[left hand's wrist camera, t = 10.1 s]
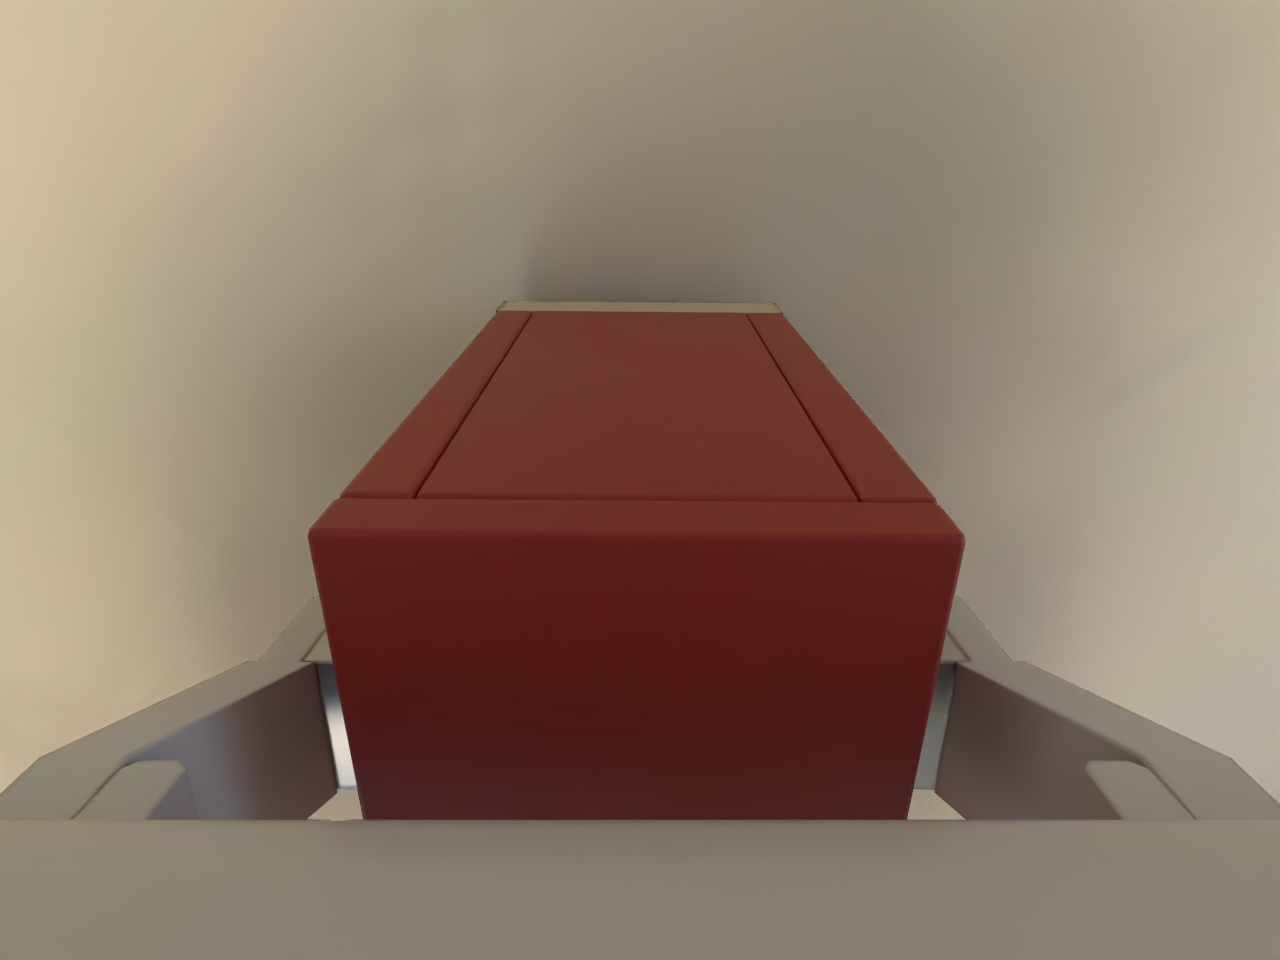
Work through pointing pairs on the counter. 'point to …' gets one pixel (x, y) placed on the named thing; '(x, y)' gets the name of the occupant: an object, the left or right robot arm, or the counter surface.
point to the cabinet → (636, 581)
